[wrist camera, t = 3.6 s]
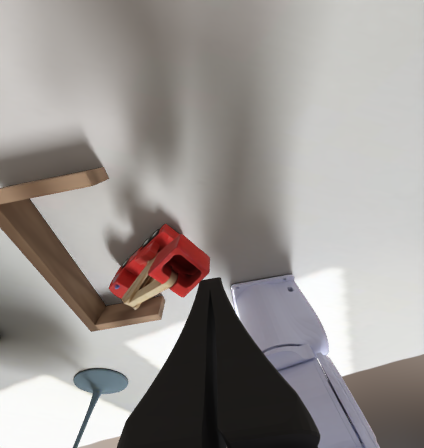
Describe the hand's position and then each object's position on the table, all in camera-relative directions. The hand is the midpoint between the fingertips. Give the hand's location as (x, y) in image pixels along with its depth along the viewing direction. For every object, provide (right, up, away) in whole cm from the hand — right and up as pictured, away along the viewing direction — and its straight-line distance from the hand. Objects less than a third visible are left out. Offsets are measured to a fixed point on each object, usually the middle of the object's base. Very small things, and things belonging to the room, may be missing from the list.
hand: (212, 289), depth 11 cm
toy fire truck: (-7, +2, +10) cm, 13 cm away
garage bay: (-14, 0, +10) cm, 17 cm away
